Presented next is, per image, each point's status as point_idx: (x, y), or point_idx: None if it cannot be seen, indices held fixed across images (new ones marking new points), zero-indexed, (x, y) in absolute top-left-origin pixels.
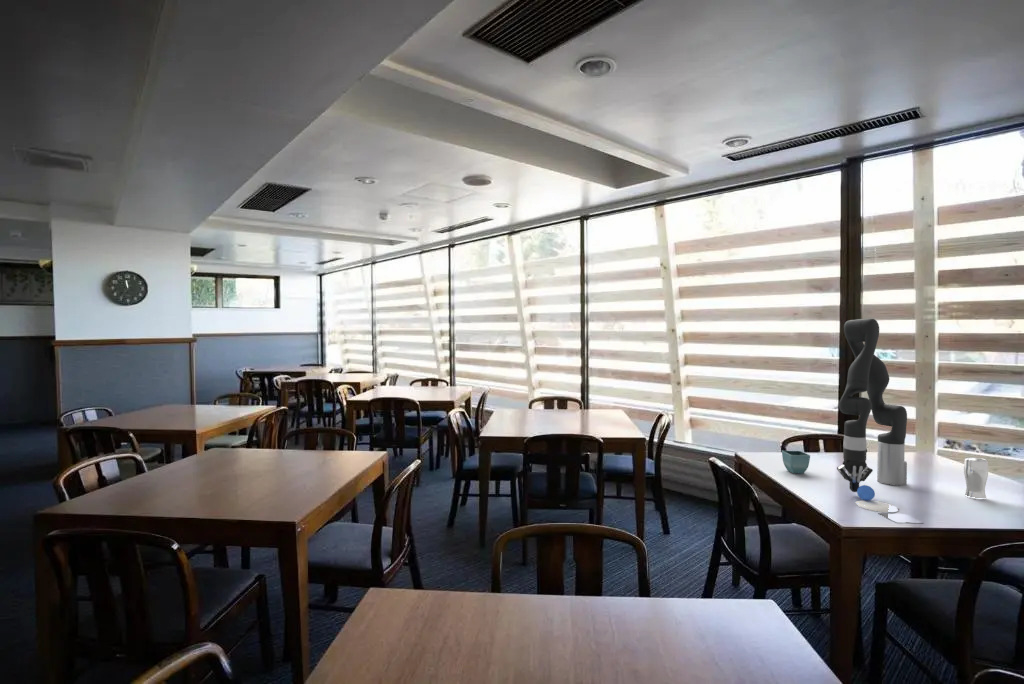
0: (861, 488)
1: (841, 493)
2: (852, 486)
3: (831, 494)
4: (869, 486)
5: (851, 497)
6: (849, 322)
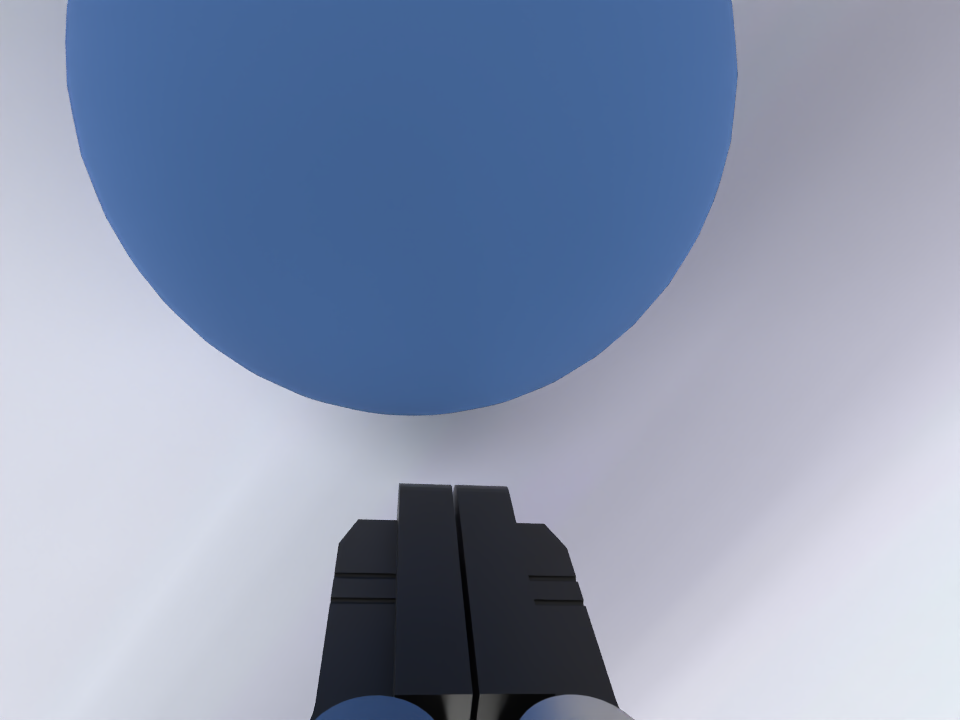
0: (721, 58)
1: (631, 592)
2: (560, 610)
3: (898, 531)
4: (231, 48)
5: (629, 334)
6: None
